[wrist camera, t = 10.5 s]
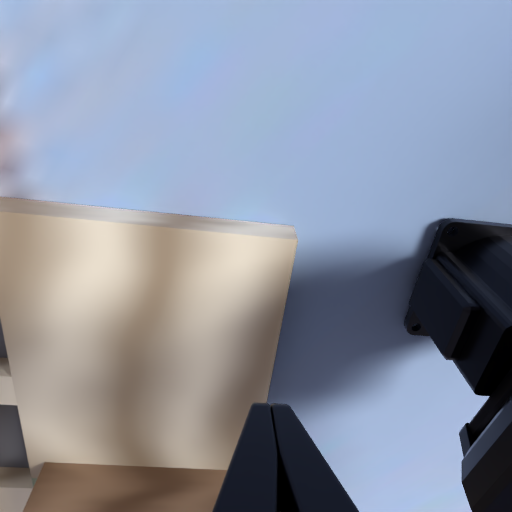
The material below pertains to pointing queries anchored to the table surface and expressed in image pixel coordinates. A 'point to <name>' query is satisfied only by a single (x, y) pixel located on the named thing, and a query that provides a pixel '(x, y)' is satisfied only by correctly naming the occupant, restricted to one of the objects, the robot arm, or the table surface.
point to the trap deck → (132, 336)
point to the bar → (123, 489)
